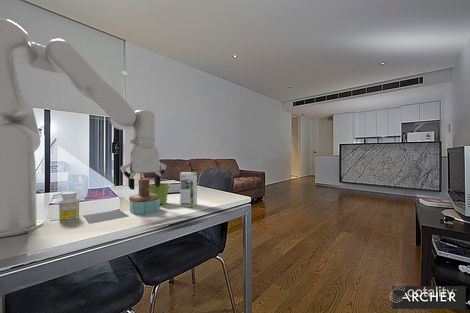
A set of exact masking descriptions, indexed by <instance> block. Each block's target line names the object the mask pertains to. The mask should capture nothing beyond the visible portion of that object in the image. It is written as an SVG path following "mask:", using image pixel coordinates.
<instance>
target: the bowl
mask: <svg viewBox="0 0 470 313" xmlns="http://www.w3.org/2000/svg"><path fill="white" fill-rule="evenodd" d="M160 210H161V204H160V198H158V199H156V200H153V201H147V202H132V201H129V212H130V213H131V214H133V215H147V214H148V215H149V214H153V213H157V212H158V211H160Z"/></svg>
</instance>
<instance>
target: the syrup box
mask: <svg viewBox="0 0 470 313" xmlns="http://www.w3.org/2000/svg"><path fill="white" fill-rule="evenodd" d="M179 191H180V194H179V195H180V196H179V199H180V200H179V204H180V205H179V206H180V208H181V207H186V208H193V207H195V206H196V205H197V204H198V173H197V172H196V171H195V172H193V171H182V172H180V173H179Z"/></svg>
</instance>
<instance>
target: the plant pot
mask: <svg viewBox="0 0 470 313" xmlns="http://www.w3.org/2000/svg"><path fill="white" fill-rule="evenodd" d="M170 186H171V184H170V183H166V182H160V184H159V187H156V186H155V183H149V193H153V194H158V198H160V205H165V204H167V200H168V194H169V192H168V191H169V189H170Z"/></svg>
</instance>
